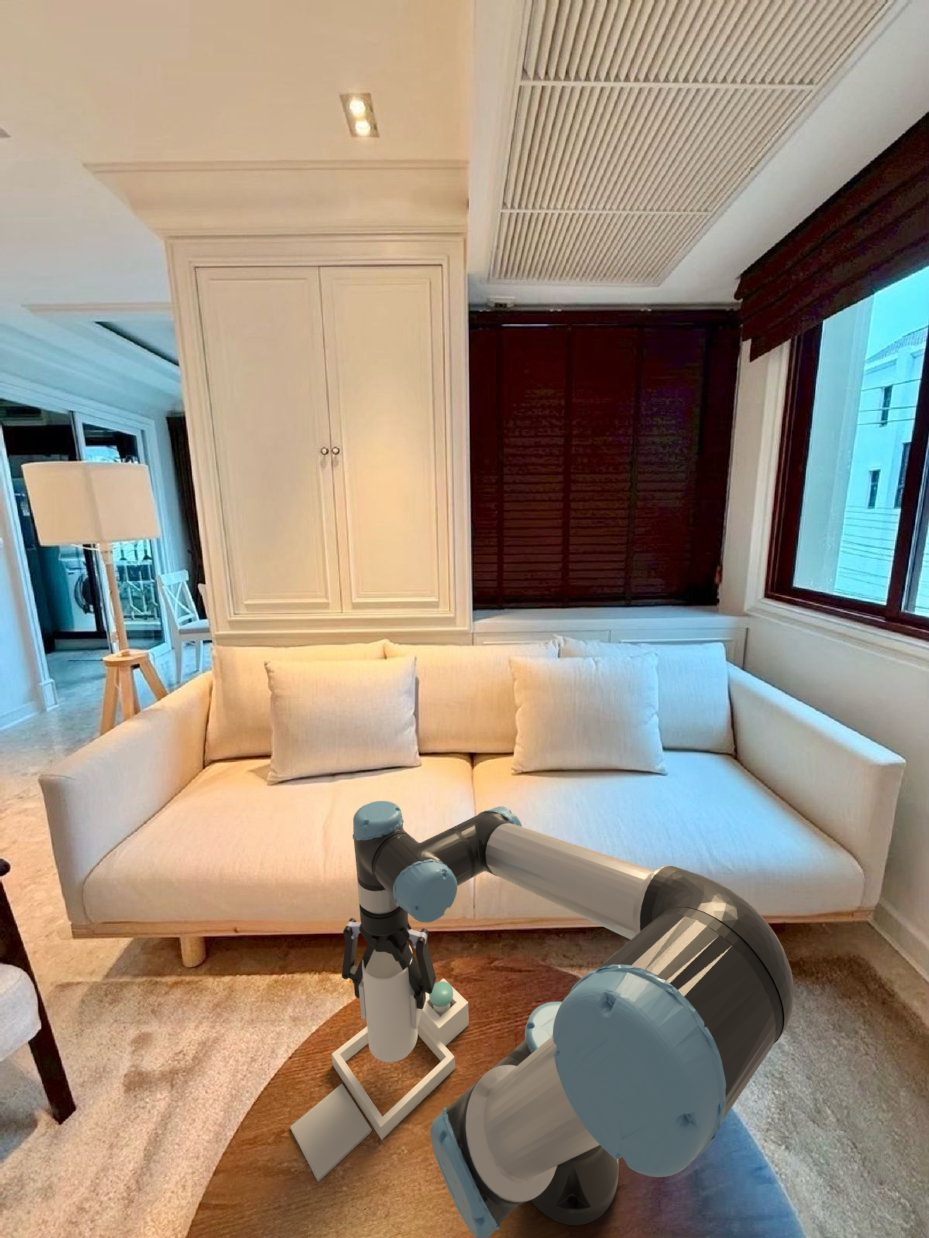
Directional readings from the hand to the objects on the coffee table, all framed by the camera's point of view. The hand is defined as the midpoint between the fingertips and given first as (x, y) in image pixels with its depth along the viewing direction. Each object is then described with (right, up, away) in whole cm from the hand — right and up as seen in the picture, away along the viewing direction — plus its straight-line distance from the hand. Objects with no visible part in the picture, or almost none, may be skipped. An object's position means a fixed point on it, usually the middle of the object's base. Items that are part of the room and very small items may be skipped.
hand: (391, 1016), depth 87 cm
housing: (+3, -10, +5) cm, 12 cm away
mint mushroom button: (+8, -7, +9) cm, 14 cm away
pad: (-9, -13, -6) cm, 17 cm away
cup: (0, -4, +1) cm, 5 cm away
